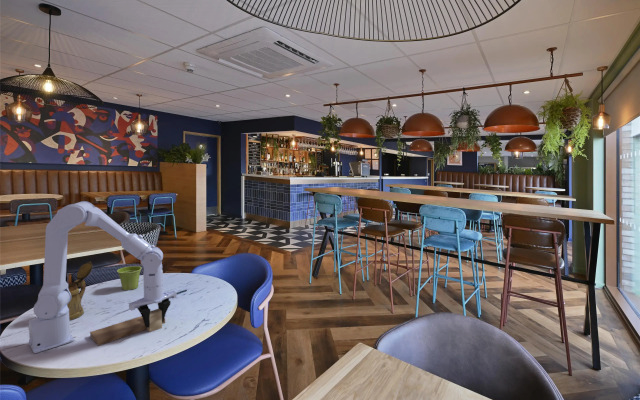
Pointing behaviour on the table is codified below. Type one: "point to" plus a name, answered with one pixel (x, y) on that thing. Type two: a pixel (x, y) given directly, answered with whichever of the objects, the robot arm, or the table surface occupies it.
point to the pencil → (181, 291)
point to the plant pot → (129, 277)
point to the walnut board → (118, 330)
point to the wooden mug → (77, 295)
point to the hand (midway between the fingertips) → (154, 323)
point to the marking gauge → (155, 320)
